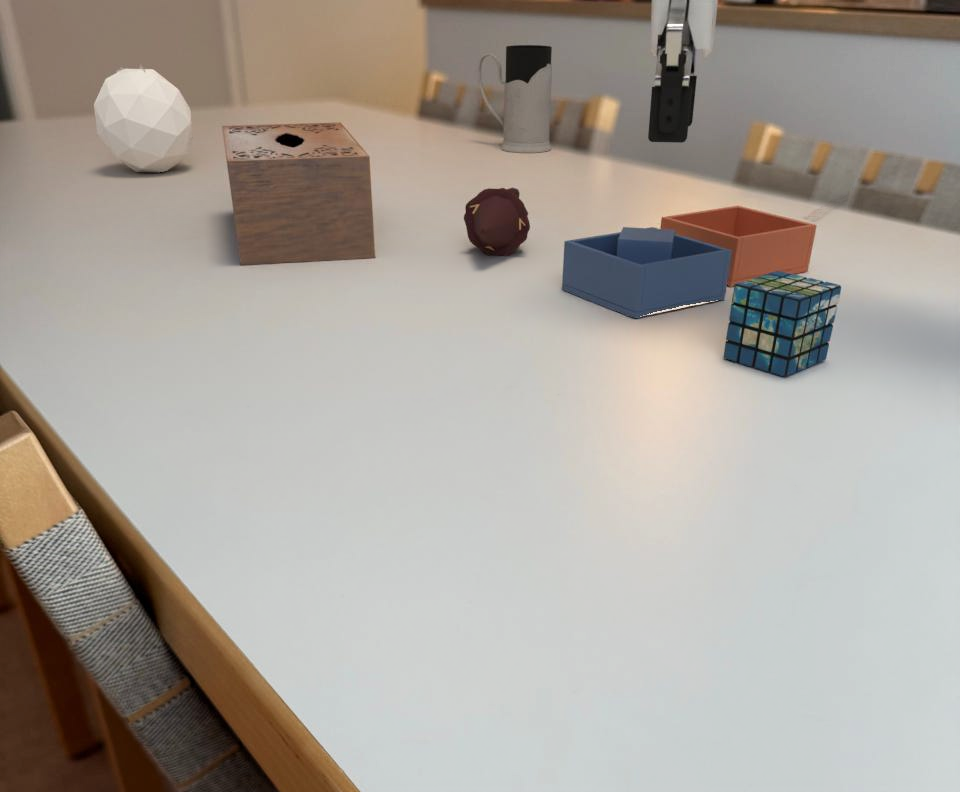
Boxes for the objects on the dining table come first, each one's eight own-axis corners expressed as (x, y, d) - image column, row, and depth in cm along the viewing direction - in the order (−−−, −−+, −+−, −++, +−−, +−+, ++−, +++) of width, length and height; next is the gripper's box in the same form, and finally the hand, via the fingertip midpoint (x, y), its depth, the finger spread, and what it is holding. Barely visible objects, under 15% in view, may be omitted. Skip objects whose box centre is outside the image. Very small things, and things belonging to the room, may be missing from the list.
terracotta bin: (731, 249, 108) (737, 205, 106) (807, 271, 101) (817, 224, 98) (656, 262, 103) (661, 217, 101) (730, 287, 96) (738, 238, 93)
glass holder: (535, 154, 160) (538, 49, 152) (464, 146, 167) (464, 45, 158) (560, 147, 166) (565, 46, 158) (491, 140, 173) (492, 42, 164)
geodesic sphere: (59, 126, 144) (77, 39, 133) (136, 116, 153) (159, 34, 142) (123, 201, 143) (146, 120, 133) (197, 186, 153) (224, 109, 142)
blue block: (618, 280, 95) (623, 226, 93) (669, 283, 95) (675, 229, 92) (613, 294, 91) (617, 238, 89) (666, 297, 91) (672, 241, 88)
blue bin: (647, 273, 100) (652, 226, 97) (724, 300, 92) (732, 250, 89) (561, 289, 95) (564, 240, 92) (635, 319, 87) (640, 266, 84)
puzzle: (763, 342, 82) (776, 270, 78) (826, 360, 78) (842, 285, 75) (722, 358, 78) (733, 283, 75) (785, 378, 75) (800, 299, 71)
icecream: (527, 207, 96) (549, 192, 109) (458, 183, 96) (488, 171, 109) (507, 276, 100) (531, 254, 112) (441, 253, 100) (472, 234, 113)
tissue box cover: (233, 213, 122) (221, 125, 116) (346, 208, 125) (340, 122, 119) (240, 265, 102) (226, 161, 96) (375, 257, 105) (369, 156, 99)
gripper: (742, -124, 67) (711, 149, 76) (742, -109, 80) (716, 121, 90) (634, -120, 68) (617, 148, 78) (652, -106, 82) (636, 120, 92)
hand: (670, 133), depth 84 cm, fingers open, 9 cm apart
